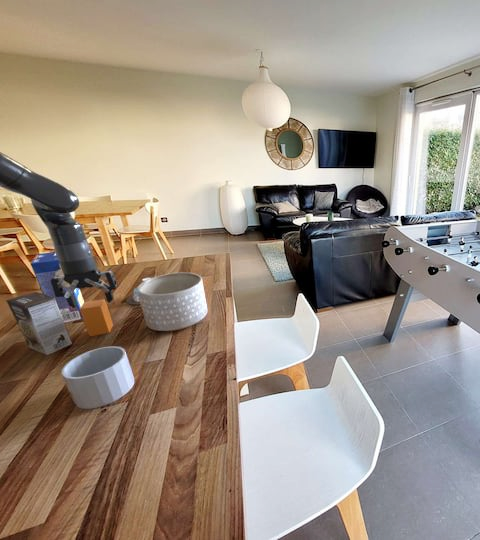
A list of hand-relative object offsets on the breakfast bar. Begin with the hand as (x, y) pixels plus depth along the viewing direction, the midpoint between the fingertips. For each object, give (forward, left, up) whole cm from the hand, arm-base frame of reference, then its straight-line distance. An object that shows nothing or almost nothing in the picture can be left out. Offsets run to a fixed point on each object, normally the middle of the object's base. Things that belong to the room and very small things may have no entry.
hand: (93, 304), depth 90 cm
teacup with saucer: (+9, +21, -10) cm, 25 cm away
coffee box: (-11, -4, -10) cm, 16 cm away
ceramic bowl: (+8, -32, -10) cm, 34 cm away
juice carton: (0, 0, -10) cm, 10 cm away
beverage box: (-12, +16, -10) cm, 22 cm away
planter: (+22, -2, -10) cm, 24 cm away
